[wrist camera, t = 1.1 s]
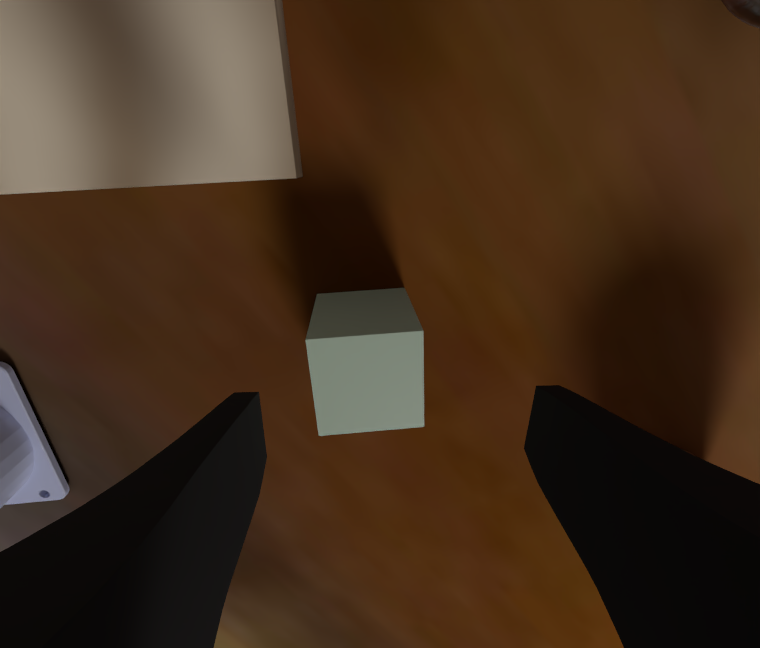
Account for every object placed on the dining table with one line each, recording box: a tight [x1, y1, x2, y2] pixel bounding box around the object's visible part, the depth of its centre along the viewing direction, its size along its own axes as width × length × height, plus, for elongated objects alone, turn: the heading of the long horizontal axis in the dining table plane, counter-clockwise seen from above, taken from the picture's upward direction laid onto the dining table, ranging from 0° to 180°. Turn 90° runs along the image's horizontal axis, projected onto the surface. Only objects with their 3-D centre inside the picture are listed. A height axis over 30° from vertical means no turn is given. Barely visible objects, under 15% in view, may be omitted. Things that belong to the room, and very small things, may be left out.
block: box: [306, 288, 424, 436], centre depth 16 cm, size 4×4×5 cm
